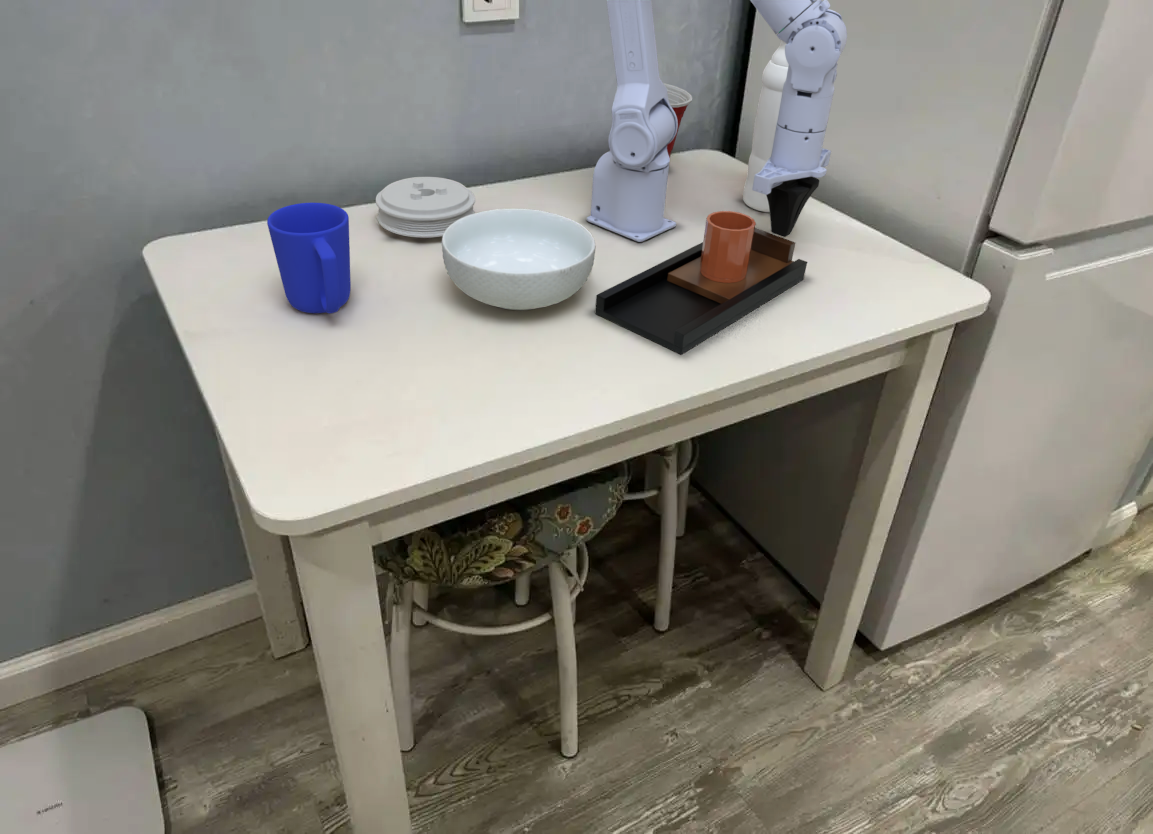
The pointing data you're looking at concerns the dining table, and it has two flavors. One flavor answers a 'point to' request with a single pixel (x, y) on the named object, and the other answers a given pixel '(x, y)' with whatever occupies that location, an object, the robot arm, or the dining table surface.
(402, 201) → the lid
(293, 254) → the mug
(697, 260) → the slide
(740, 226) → the cup
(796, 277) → the slide rail
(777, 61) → the water bottle
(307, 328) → the dining table surface
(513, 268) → the cereal bowl
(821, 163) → the robot arm
